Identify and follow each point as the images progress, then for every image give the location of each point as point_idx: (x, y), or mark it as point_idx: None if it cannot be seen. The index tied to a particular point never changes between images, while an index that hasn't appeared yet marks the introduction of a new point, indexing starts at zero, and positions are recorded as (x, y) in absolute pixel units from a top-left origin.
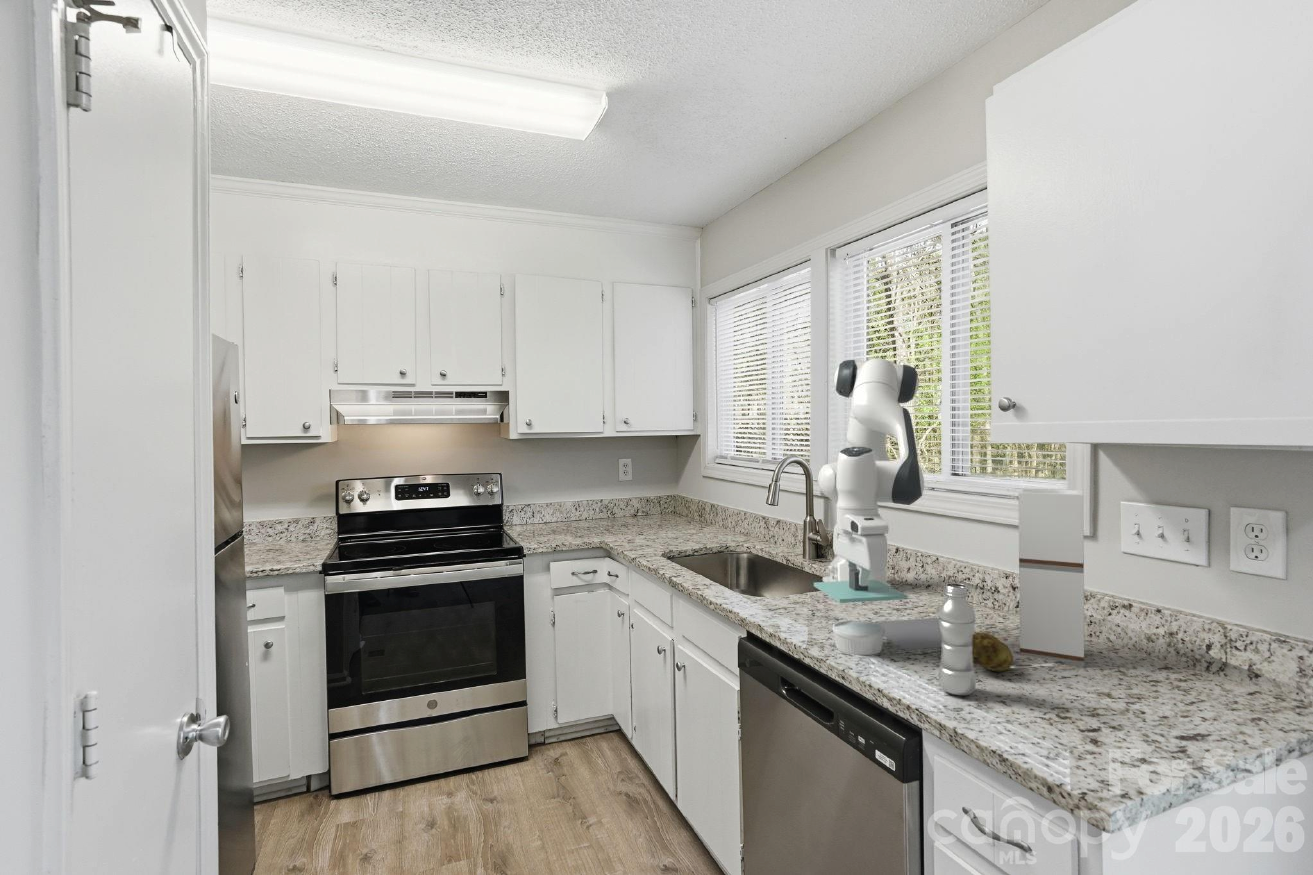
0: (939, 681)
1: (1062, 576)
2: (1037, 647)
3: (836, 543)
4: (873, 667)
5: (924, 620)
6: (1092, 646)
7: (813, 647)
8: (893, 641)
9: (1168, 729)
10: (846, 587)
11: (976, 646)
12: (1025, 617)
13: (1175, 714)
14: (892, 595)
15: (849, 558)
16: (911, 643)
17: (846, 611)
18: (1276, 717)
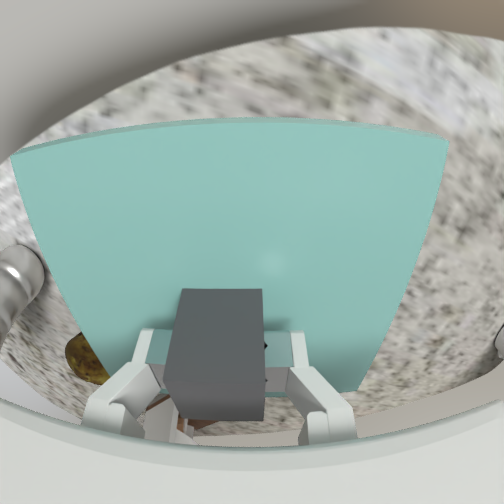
0: (15, 248)
1: None
2: (165, 403)
3: (492, 486)
4: None
5: None
6: (214, 428)
7: (286, 61)
8: None
9: (20, 359)
10: (265, 276)
11: (69, 350)
12: (166, 435)
13: (50, 380)
14: (109, 362)
15: (218, 470)
16: None
17: (483, 268)
18: (69, 409)
